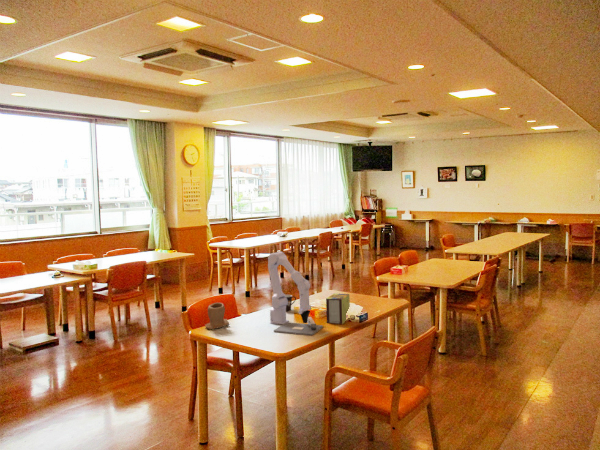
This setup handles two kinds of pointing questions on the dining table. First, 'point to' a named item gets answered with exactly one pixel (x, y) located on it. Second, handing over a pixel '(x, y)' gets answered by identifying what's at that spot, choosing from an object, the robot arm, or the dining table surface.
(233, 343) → the dining table surface
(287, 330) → the label board
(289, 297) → the coffee mug
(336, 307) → the protein box
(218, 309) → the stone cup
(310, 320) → the swing bar
